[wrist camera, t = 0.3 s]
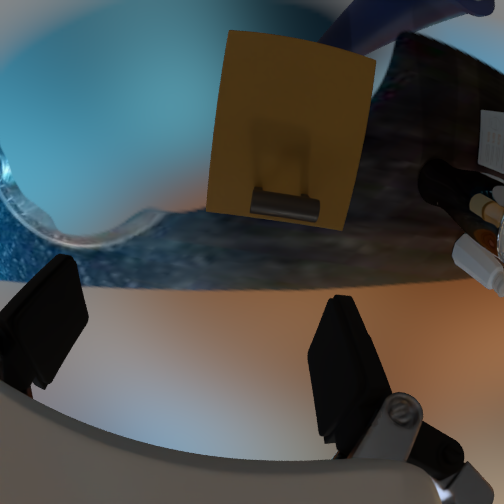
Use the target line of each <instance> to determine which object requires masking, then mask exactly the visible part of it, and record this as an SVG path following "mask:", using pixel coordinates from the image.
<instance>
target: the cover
mask: <svg viewBox="0 0 504 504" xmlns="http://www.w3.org/2000/svg"><path fill="white" fill-rule="evenodd" d="M375 67H376V60H374V59H371V58H368V57H365V56H362V55H359V54H356V53H353V52H350V51H346V50H343V49H340V48H336V47H332V46H328V45H324V44H320V43H316V42H312V41H307V40H302V39H297V38H292V37H286V36H280V35H273V34H266V33H258V32H248V31H235V30H229V32H228V38H227V43H226V49H225V55H224V61H223V68H222V74H221V81H220V88H219V95H218V102H217V110H216V118H215V126H214V133H213V143H212V151H211V160H210V161H211V162H210V170H209V181H208V192H207V204H206V211H207V212H216V213H224V214H232V215H239V216H247V217H254V218H262V219H269V220H276V221H283V222H290V223H296V224H303V225H310V226H316V227H322V228H328V229H335V230H341V231H342V230H343V226H344V223H345V219H346V215H347V211H348V207H349V204H350V200H351V196H352V192H353V187H354V183H355V179H356V175H357V170H358V166H359V161H360V157H361V152H362V147H363V142H364V137H365V132H366V126H367V121H368V115H369V109H370V103H371V96H372V90H373V82H374V75H375Z"/></svg>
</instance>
